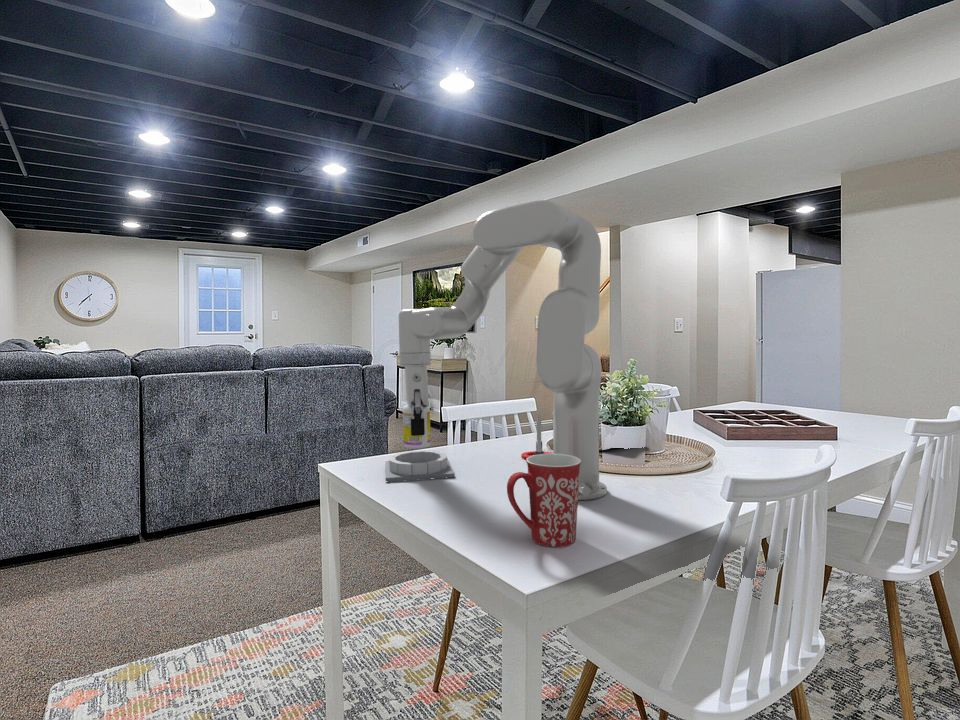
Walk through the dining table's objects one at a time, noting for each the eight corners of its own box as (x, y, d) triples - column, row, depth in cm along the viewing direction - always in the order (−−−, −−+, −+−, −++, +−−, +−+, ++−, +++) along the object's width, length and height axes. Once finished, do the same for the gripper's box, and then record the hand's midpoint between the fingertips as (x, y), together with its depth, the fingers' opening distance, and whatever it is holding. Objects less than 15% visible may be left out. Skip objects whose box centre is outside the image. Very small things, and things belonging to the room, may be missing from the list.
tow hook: (520, 455, 154) (523, 462, 145) (519, 408, 154) (522, 412, 144) (550, 455, 154) (555, 461, 145) (549, 408, 154) (555, 412, 145)
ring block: (454, 477, 132) (454, 462, 131) (385, 482, 129) (385, 467, 129) (447, 461, 147) (446, 448, 147) (385, 465, 145) (385, 451, 144)
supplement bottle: (421, 442, 142) (420, 392, 142) (435, 446, 137) (434, 394, 136) (398, 446, 138) (397, 394, 137) (412, 450, 133) (411, 397, 132)
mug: (567, 526, 99) (566, 451, 98) (591, 545, 90) (590, 463, 89) (499, 535, 95) (498, 457, 95) (518, 556, 87) (516, 470, 86)
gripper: (433, 361, 128) (435, 438, 130) (428, 357, 145) (429, 425, 147) (400, 362, 127) (402, 440, 128) (398, 358, 144) (400, 426, 145)
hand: (417, 431), depth 138 cm, fingers closed on supplement bottle, 6 cm apart
